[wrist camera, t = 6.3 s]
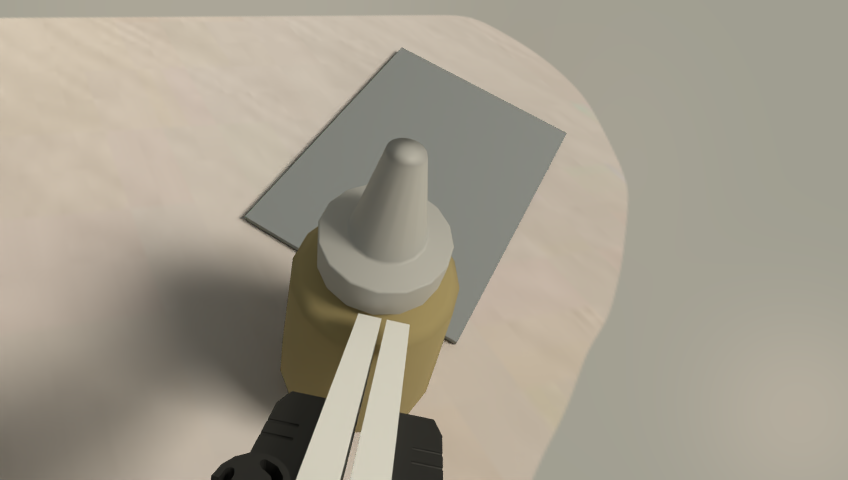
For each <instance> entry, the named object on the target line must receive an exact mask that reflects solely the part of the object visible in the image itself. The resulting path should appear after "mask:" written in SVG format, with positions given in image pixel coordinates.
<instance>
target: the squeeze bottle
mask: <svg viewBox="0 0 848 480" xmlns="http://www.w3.org/2000/svg"><path fill="white" fill-rule="evenodd" d="M453 249H454V245H453V240H452V234H451V229H450V225H449V224H448V222H447V221H446V219H445V218H444V216H443V215H442V214H441V212H440V211H439V209H438V208H437V207H436V206H435V205H433V204H432V203H431V202H429V201H428V155H427V151H426V149H425V148H424V146H423V145H421V144H420V143H419V142H417V141H415V140H412V139H409V138H397V139H393V140H391V141H390V142H388V144H387V146H386V148H385V150H384V152H383V154H382V156H381V158H380V160H379V162H378V164H377V166H376V168H375V170H374V172H373V174H372V176H371V178H370V180H369V182H368V184H367V185H364V186H360V187H356V188H352V189H348V190H347V191H345V192H344V193H342V194H341V195H339V196H338V197H337V198H335V199H334V200H332V201H331V202H329V204H328V206H327V207H326V209H325V211H324V212H323V214H322V216H321V218H320V219H319V221H318V227H316V228H315V229H313V230H312V231H311V232H309V233H308V234H307V235H306V237H305V239H304V241H303V242H302V244H301V246H300V247H299V249H298V251H297V252H296V254H295V256H294V257H293V262H292V270H291V278H290V286H289V294H288V302H287V310H286V318H285V326H284V334H283V342H282V355H281V368H280V370H281V373H282V376H283V378H284V381H285V384H286V387H287V389H288V392H289V393H290V392H291V391H294V392H299V393H304V394H309V395H313V396H318V397H323V398H327V396H328V393H329V390H330V388H331V385H332V382H333V380H334V377H335V375H336V372H337V369H338V367H339V364H340V361H341V359H342V356H343V353H344V351H345V348H346V345H347V343H348V340H349V337H350V335H351V332H352V329H353V327H354V324H355V321H356V319H357V316H358V313H359V314H364V315H368V316H373V317H377V318H382V319H381V323H380V328H379V332H378V336H377V341H376V345H375V350H374V354H373V359H372V363H371V367H370V372H369V376H368V381H367V385H366V389H365V393H364V397H363V401H362V405H361V409H360V413H359V417H358V421H357V425H356V429H355V432H361V430H362V425H363V421H364V417H365V412H366V408H367V403H368V399H369V395H370V390H371V386H372V382H373V377H374V373H375V369H376V364H377V360H378V356H379V351H380V347H381V343H382V339H383V334H384V330H385V326H386V321H387V320H391V321H395V322H400V323H404V324H409V325H410V327H409V336H408V344H407V353H406V361H405V370H404V378H403V386H402V395H401V403H400V413H405V414H408V413H409V412H410V411H411V409H412V408H413V407H414V406H415V404H416V403H417V402H418V401H419V399H420V398H421V397H422V396H423V394H424V393H425V392H426V390H427V387H428V384H429V381H430V378H431V375H432V372H433V369H434V367H435V364H436V361H437V358H438V355H439V352H440V349H441V346H442V344H443V341H444V338H445V335H446V332H447V329H448V326H449V323H450V321H451V318H452V315H453V311H454V307H455V303H456V300H457V296H458V292H459V283H458V277H457V272H456V266H455V261H454V259H453V258H452V256H451V255H452V252H453Z"/></svg>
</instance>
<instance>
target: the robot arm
mask: <svg viewBox="0 0 848 480" xmlns="http://www.w3.org/2000/svg"><path fill="white" fill-rule="evenodd" d="M381 319H382V318H377V317H373V316H368V315H364V314H359V313H358V316H357V319H356V321H355V324H354V327H353V329H352V332H351V335H350V337H349V340H348V343H347V345H346V348H345V351H344V353H343V356H342V359H341V361H340V364H339V367H338V369H337V372H336V375H335V377H334V380H333V382H332V385H331V388H330V390H329V393H328V396H327V398H323V397H318V396H313V395H309V394H304V393H299V392H294V391H291V392H290V393H289V394H287V395H286V396H285V397H284V398H282V399H281V400H280V401H278V402H277V403H276V405H275V407H274V409H273V411H272V413H271V414H270V416H269V418H268V421H267V422H266V424H265V426H264V427H263V429H262V431H261V434H260V435H259V437H258V439H257V440H256V442H255V444H254V446H253V448H252V450H251V452H250V453H247V454H243V455H239V456H235V457H233V458H232V459H230V460H228V461H226V462H225V463H223V464H221V465H220V467H219V468H218V469H217V470H216V471H215V472H214V473H213V475H212V476H211V480H343V477H344V473H345V469H346V465H347V461H348V457H349V453H350V449H351V445H352V441H353V437H354V433H355V429H356V425H357V421H358V417H359V413H360V409H361V405H362V401H363V397H364V393H365V389H366V385H367V381H368V376H369V372H370V367H371V363H372V359H373V354H374V350H375V345H376V341H377V336H378V332H379V328H380V323H381ZM409 327H410V325H409V324H404V323H400V322H395V321H391V320H387V321H386V326H385V330H384V334H383V339H382V343H381V347H380V351H379V356H378V360H377V364H376V369H375V373H374V377H373V382H372V386H371V390H370V395H369V399H368V403H367V408H366V412H365V417H364V421H363V425H362V430H361V434H360V438H359V443H358V447H357V451H356V456H355V460H354V464H353V469H352V473H351V477H350V480H443V471H442V468H443V457H442V435H441V433H440V431H439V429H438V427H437V425H436V423H435V421H434V420H433V419H428V418H423V417H419V416H414V415H409V414H405V413H400V403H401V395H402V386H403V378H404V370H405V361H406V353H407V344H408V336H409Z"/></svg>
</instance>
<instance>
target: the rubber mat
mask: <svg viewBox="0 0 848 480" xmlns="http://www.w3.org/2000/svg"><path fill="white" fill-rule="evenodd" d="M565 135H566V132H564V131H562V130H560V129H558V128H556V127H554V126H552V125H550V124H548V123H546V122H544V121H542V120H541V119H539V118H537V117H535V116H533V115H531V114H529V113H527V112H525V111H523V110H521V109H519V108H517V107H515V106H514V105H512V104H510V103H508V102H506V101H504V100H502V99H500V98H498V97H496V96H494V95H492V94H490V93H489V92H487V91H485V90H483V89H481V88H479V87H477V86H475V85H473V84H471V83H469V82H467V81H465V80H464V79H462V78H460V77H458V76H456V75H454V74H452V73H450V72H448V71H446V70H444V69H442V68H440V67H438V66H437V65H435V64H433V63H431V62H429V61H427V60H425V59H423V58H421V57H419V56H417V55H415V54H413V53H412V52H410V51H408V50H406V49H404V48H401V49H400V50H399V51H398V52H397V53H396V54H395V56H394V57H393V58H392V59H391V60H390V61H389V62H388V63H387V64H386V65H385V66H384V67H383V68H382V69H381V71H380V72H379V73H378V74H377V75H376V76H375V77H374V78H373V79H372V80H371V81H370V82H369V83H368V85H367V86H366V87H365V88H364V89H363V90H362V91H361V92H360V93H359V94H358V95H357V96H356V97H355V99H354V100H353V101H352V102H351V103H350V104H349V105H348V106H347V107H346V108H345V109H344V110H343V111H342V112H341V114H340V115H339V116H338V117H337V118H336V119H335V120H334V121H333V122H332V123H331V124H330V125H329V126H328V128H327V129H326V130H325V131H324V132H323V133H322V134H321V135H320V136H319V137H318V138H317V139H316V140H315V141H314V143H313V144H312V145H311V146H310V147H309V148H308V149H307V150H306V151H305V152H304V153H303V154H302V155H301V157H300V158H299V159H298V160H297V161H296V162H295V163H294V164H293V165H292V166H291V167H290V168H289V169H288V171H287V172H286V173H285V174H284V175H283V176H282V177H281V178H280V179H279V180H278V181H277V182H276V183H275V184H274V186H273V187H272V188H271V189H270V190H269V191H268V192H267V193H266V194H265V195H264V196H263V197H262V198H261V200H260V201H259V202H258V203H257V204H256V205H255V206H254V207H253V208H252V209H251V210H250V211H249V212H248V213H247V215H246V216H245V217H246V220H247V221H249V222H250V223H252V224H254V225H255V226H257V227H259V228H260V229H262V230H264V231H265V232H267V233H269V234H270V235H272V236H274V237H275V238H277V239H279V240H280V241H282V242H284V243H285V244H287V245H289V246H290V247H292V248H294V249H295V250H297V251H298V249H299V247H300V246H301V244H302V242H303V241H304V239H305V237H306V235H307V234H308V233H309V232H311V231H312V230H313V229H315V228H316V227H318V221H319V219H320V218H321V216H322V214H323V212H324V211H325V209H326V207H327V206H328V204H329V202H331V201H332V200H334V199H335V198H337V197H338V196H339V195H341V194H342V193H344V192H345V191H347V190H348V189H352V188H356V187H360V186H364V185H367V184H368V182H369V180H370V178H371V176H372V174H373V172H374V170H375V168H376V166H377V164H378V162H379V160H380V158H381V156H382V154H383V152H384V150H385V148H386V146H387V144H388V142H390V141H391V140H393V139H397V138H409V139H412V140H415V141H417V142H419V143H420V144H421V145H423V146H424V148H425V149H426V151H427V155H428V201H429V202H431V203H432V204H433V205H435V206H436V207H437V208H438V209H439V211H440V212H441V214H442V215H443V216H444V218H445V219H446V221H447V222H448V224H449V225H450V229H451V234H452V240H453V245H454V249H453V252H452V255H451V256H452V258H453V259H454V261H455V266H456V272H457V277H458V283H459V292H458V296H457V300H456V303H455V307H454V311H453V315H452V318H451V321H450V323H449V326H448V329H447V332H446V335H445V339H446V340H448V341H450V342H451V343H453V344H456V343H457V341H458V339H459V337H460V335H461V334H462V332H463V330H464V328H465V326H466V324H467V322H468V320H469V318H470V316H471V315H472V313H473V311H474V309H475V307H476V305H477V303H478V301H479V299H480V297H481V295H482V294H483V292H484V290H485V288H486V286H487V284H488V282H489V280H490V278H491V276H492V274H493V273H494V271H495V269H496V267H497V265H498V263H499V261H500V259H501V257H502V255H503V254H504V252H505V250H506V248H507V246H508V244H509V242H510V240H511V238H512V236H513V234H514V233H515V231H516V229H517V227H518V225H519V223H520V221H521V219H522V217H523V215H524V214H525V212H526V210H527V208H528V206H529V204H530V202H531V200H532V198H533V196H534V194H535V193H536V191H537V189H538V187H539V185H540V183H541V181H542V179H543V177H544V175H545V173H546V172H547V170H548V168H549V166H550V164H551V162H552V160H553V158H554V156H555V154H556V153H557V151H558V149H559V147H560V145H561V143H562V141H563V139H564V137H565Z"/></svg>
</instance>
